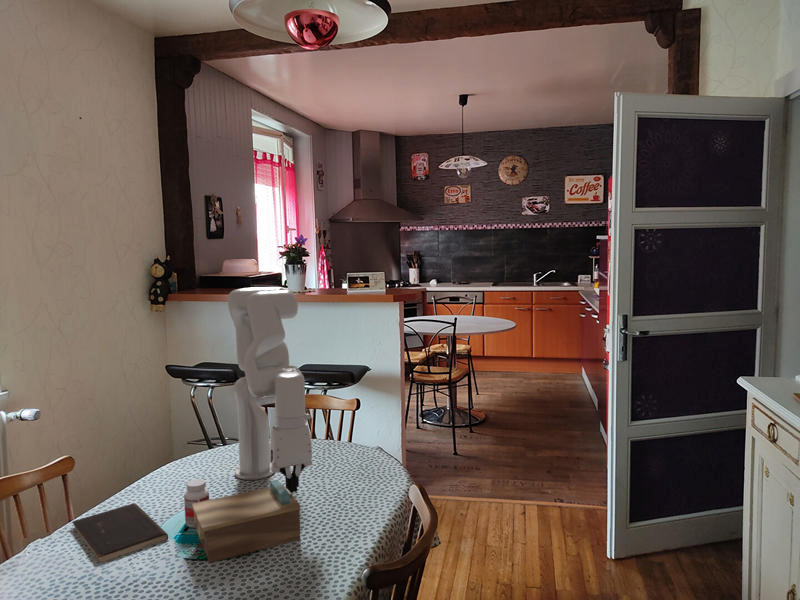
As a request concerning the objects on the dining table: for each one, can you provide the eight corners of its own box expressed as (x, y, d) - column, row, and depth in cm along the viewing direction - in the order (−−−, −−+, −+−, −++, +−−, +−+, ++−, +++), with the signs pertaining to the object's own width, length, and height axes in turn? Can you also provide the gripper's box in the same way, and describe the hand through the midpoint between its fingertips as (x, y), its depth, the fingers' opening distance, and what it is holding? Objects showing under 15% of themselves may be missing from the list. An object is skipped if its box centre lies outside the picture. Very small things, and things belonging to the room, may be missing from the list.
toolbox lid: (192, 519, 144) (191, 493, 143) (283, 499, 155) (282, 475, 154) (202, 545, 131) (201, 517, 131) (300, 521, 142) (299, 495, 142)
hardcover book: (98, 565, 133) (98, 556, 133) (72, 529, 150) (72, 521, 150) (168, 541, 144) (168, 532, 144) (136, 510, 161) (136, 502, 161)
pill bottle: (208, 515, 156) (206, 476, 155) (211, 525, 151) (210, 484, 150) (184, 520, 154) (182, 480, 153) (186, 530, 148) (184, 489, 147)
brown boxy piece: (199, 538, 144) (197, 507, 143) (284, 517, 155) (283, 489, 154) (208, 563, 133) (207, 530, 132) (300, 539, 143) (299, 508, 143)
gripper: (313, 413, 153) (314, 479, 155) (257, 421, 146) (259, 491, 148) (323, 420, 147) (324, 489, 148) (265, 430, 139) (267, 502, 141)
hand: (292, 490), depth 148 cm, fingers closed
